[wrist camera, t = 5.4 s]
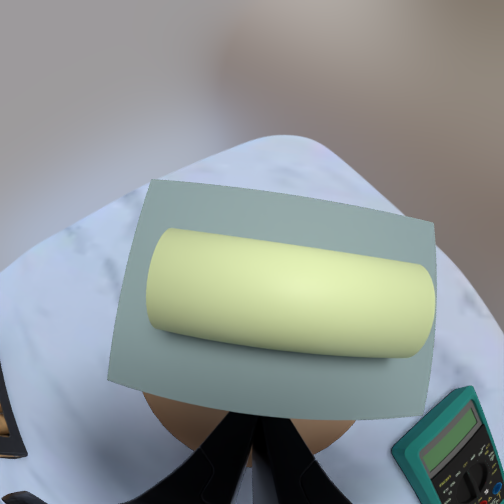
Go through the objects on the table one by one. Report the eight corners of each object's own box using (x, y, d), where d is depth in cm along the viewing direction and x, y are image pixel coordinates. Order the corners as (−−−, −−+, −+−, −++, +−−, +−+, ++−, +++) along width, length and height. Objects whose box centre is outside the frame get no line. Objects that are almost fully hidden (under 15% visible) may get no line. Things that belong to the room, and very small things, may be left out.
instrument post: (315, 368, 14) (462, 429, 3) (200, 352, 14) (67, 389, 3) (324, 293, 15) (468, 196, 4) (212, 278, 15) (129, 140, 4)
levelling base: (353, 462, 13) (396, 476, 8) (128, 431, 13) (86, 436, 9) (362, 268, 20) (393, 224, 16) (176, 241, 21) (161, 191, 16)
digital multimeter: (439, 552, 7) (458, 559, 5) (384, 446, 14) (406, 449, 11) (495, 495, 9) (516, 496, 6) (451, 385, 16) (476, 378, 13)
